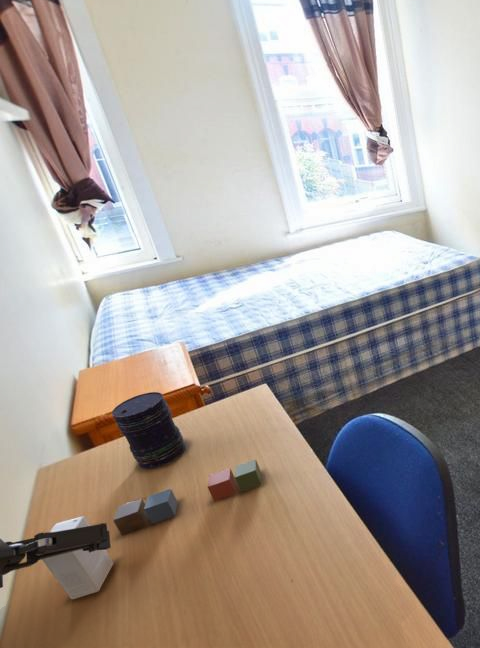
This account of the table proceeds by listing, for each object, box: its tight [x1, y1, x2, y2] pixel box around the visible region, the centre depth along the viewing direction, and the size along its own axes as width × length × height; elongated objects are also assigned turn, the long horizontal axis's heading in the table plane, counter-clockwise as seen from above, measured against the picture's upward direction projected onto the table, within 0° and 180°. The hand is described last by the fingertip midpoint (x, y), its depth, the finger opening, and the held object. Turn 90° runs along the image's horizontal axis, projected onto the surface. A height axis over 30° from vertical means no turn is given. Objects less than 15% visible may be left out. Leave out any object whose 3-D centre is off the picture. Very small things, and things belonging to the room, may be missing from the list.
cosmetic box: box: [41, 515, 114, 600], centre depth 80 cm, size 6×4×12 cm
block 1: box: [112, 497, 149, 536], centre depth 93 cm, size 4×4×4 cm
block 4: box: [234, 459, 262, 493], centre depth 101 cm, size 4×4×4 cm
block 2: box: [144, 488, 179, 525], centre depth 95 cm, size 4×4×4 cm
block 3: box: [207, 467, 237, 502], centre depth 99 cm, size 4×4×4 cm
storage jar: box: [111, 391, 187, 470], centre depth 110 cm, size 10×10×15 cm
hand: (55, 558), depth 74 cm, fingers open, 13 cm apart
